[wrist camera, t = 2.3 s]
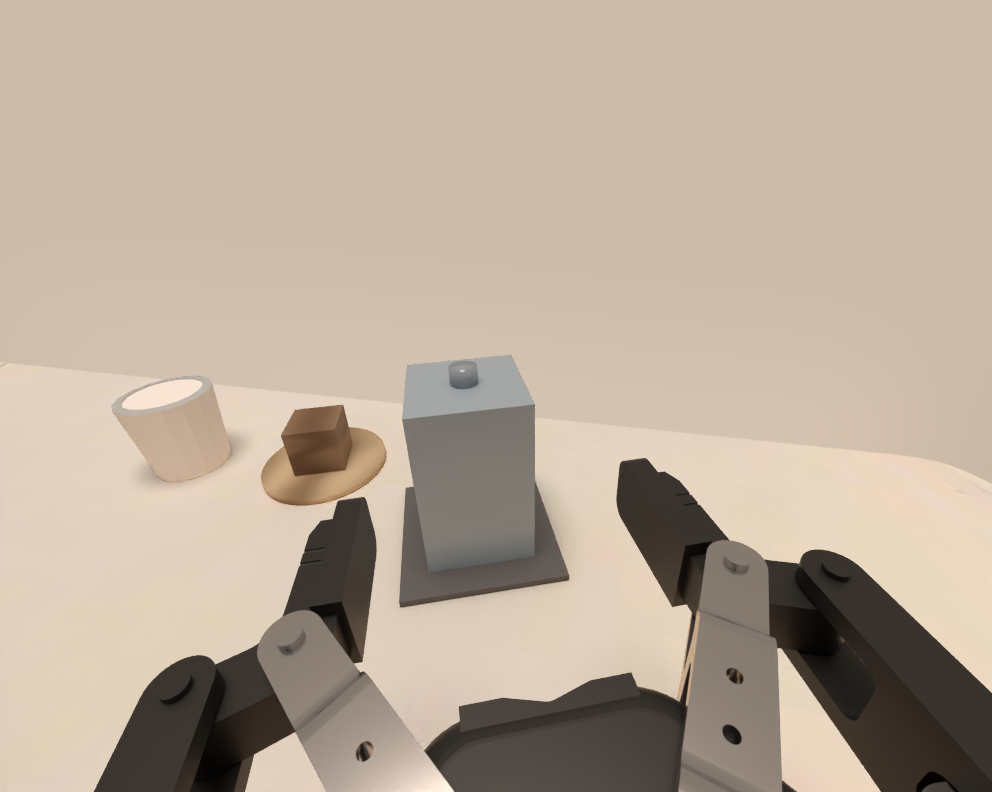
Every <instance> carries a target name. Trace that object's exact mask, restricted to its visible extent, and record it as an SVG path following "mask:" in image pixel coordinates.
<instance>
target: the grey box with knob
mask: <svg viewBox="0 0 992 792" xmlns="http://www.w3.org/2000/svg"><path fill="white" fill-rule="evenodd" d="M402 421H403V426H404V432H405V438H406V444H407V449H408V455H409V461H410V467H411V473H412V478H413V484H414V490H415V496H416V501H417V507H418V513H419V519H420V524H421V530H422V536H423V542H424V548H425V553H426V559H427V565H428V571H429V573H433V572H439V571H446V570H452V569H459V568H465V567H472V566H478V565H485V564H491V563H497V562H504V561H510V560H517V559H523V558H530V557H535V404H534V402H533V400H532V397H531V396H530V394H529V391H528V389H527V387H526V385H525V383H524V381H523V379H522V377H521V375H520V372H519V371H518V368H517V366H516V364H515V362H514V360H513V358H512V356H511V355H505V356H495V357H485V358H474V359H464V360H454V361H444V362H435V363H424V364H414V365H407V371H406V382H405V394H404V405H403V417H402Z"/></svg>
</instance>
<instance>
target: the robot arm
mask: <svg viewBox="0 0 992 792" xmlns="http://www.w3.org/2000/svg"><path fill="white" fill-rule="evenodd" d="M617 508H618V512H619V515H620V517H621V519H622V521H623V522H624V524H625V526H626V527H627V529H628V531H629V533H630V534H631V536H632V538H633V540H634V541H635V543H636V545H637V546H638V548H639V550H640V552H641V553H642V555H643V557H644V559H645V560H646V562H647V564H648V565H649V567H650V569H651V571H652V572H653V574H654V576H655V578H656V579H657V581H658V583H659V584H660V586H661V588H662V590H663V591H664V593H665V595H666V597H667V598H668V600H669V602H670V603H671V605H672V607H674V606H680V605H685V604H687V605H688V607H689V609H690V610H691V612H692V613H691V618H690V623H689V630H688V636H687V643H686V649H685V656H684V662H683V669H682V675H681V681H680V687H679V692H678V696H677V700H676V699H674V698H672V697H669V696H667V695H665V694H663V693H660V692H657V691H654V690H651V689H647V688H642V687H637V685H636V683H635V680H634V678H633V675H632V673H626V674H621V675H616V676H611V677H606V678H601V679H596V680H591V681H589V682H587V683H585V684H583V685H581V686H579V687H577V688H576V689H574V690H572V691H570V692H568V693H566V694H564V695H563V696H561V697H559V698H557V699H555V700H553V701H550V702H542V701H531V700H520V699H510V698H499V699H494V700H489V701H484V702H479V703H474V704H469V705H464V706H459V715H460V722H458V723H456V724H454V725H452V726H451V727H449V728H448V729H446V730H445V731H444V732H442V733H441V734H440V735H439V736H438V737H437V738H435V739H434V740H433V741H432V742H431V743H430V745H429V746H428V747H427V748H426V749H425V750H423V749H422V747H421V746H420V745H419V743H418V742H417V741H416V739H415V738H414V737H413V735H412V734H411V733H410V731H409V730H408V728H407V727H406V726H405V724H404V723H403V722H402V720H401V719H400V718H399V716H398V715H397V714H396V712H395V711H394V709H393V708H392V707H391V705H390V704H389V703H388V701H387V700H386V699H385V697H384V696H383V695H382V693H381V692H380V690H379V689H378V688H377V686H376V685H375V684H374V682H373V681H372V680H371V678H370V677H369V676H368V675H367V674H366V673H365V672H362V673H361V672H360V671H359V670H358V669H357V668H356V666H355V665H354V664H353V663H359V662H363V654H364V646H365V638H366V631H367V623H368V615H369V607H370V600H371V592H372V584H373V577H374V569H375V561H376V537H375V532H374V528H373V524H372V520H371V517H370V513H369V509H368V505H367V501H366V499H365V498H364V497H361V498H354V499H347V500H340V501H338V502H337V505H336V509H335V512H334V516H333V519H330V520H323V521H320V523H319V524H318V525H317V526H316V528H315V529H314V530H313V531H312V532H311V534H310V535H309V538H308V541H307V544H306V547H305V550H304V551H305V553H303V556H302V559H301V562H300V564H301V565H300V566H299V568H298V572H297V575H296V578H295V581H294V584H293V587H292V590H291V593H290V596H289V599H288V602H287V605H286V609H285V612H284V614H283V617H282V618H280V619H278V620H277V621H276V622H275V623H273V624H272V625H271V626H270V627H269V628H268V629H267V631H266V632H265V633H264V635H263V636H262V638H261V640H260V642H259V644H257V645H256V646H254V647H252V648H250V649H248V650H246V651H244V652H242V653H240V654H238V655H235V656H233V657H231V658H229V659H227V660H224V661H222V662H220V663H218V664H216V665H215V664H214V662H213V661H212V660H211V659H210V658H208V657H206V656H201V655H197V656H191V657H187V658H184V659H182V660H180V661H178V662H176V663H174V664H172V665H171V666H169V667H168V668H166V669H165V670H164V671H162V672H161V673H160V674H159V675H158V676H157V677H156V678H154V679H153V681H152V682H151V683H150V684H149V685H148V686H147V688H146V689H145V691H144V692H143V694H142V696H141V697H140V699H139V701H138V703H137V705H136V707H135V709H134V711H133V713H132V715H131V718H130V720H129V722H128V724H127V726H126V728H125V730H124V732H123V734H122V736H121V738H120V740H119V742H118V744H117V746H116V748H115V750H114V752H113V754H112V756H111V758H110V760H109V762H108V764H107V766H106V768H105V770H104V772H103V774H102V776H101V778H100V780H99V782H98V784H97V786H96V788H95V790H94V792H245V789H246V785H247V781H248V777H249V773H250V769H251V765H252V761H253V757H254V754H256V753H257V752H259V751H261V750H263V749H265V748H267V747H268V746H270V745H272V744H274V743H276V742H278V741H279V740H281V739H283V738H285V737H287V736H289V735H290V734H292V733H294V732H296V734H297V736H298V738H299V740H300V742H301V744H302V746H303V747H304V749H305V751H306V753H307V755H308V757H309V759H310V761H311V763H312V765H313V767H314V769H315V771H316V772H317V774H318V776H319V778H320V780H321V782H322V784H323V786H324V788H325V790H326V792H796V791H795V790H794V789H793V788H791V787H790V786H789V785H787V784H786V783H785V782H784V781H782V770H781V741H780V712H779V682H778V653H777V648H782V650H783V651H784V653H785V654H786V656H787V657H788V658H789V660H790V661H791V663H792V664H793V666H794V667H795V668H796V670H797V671H798V673H799V674H800V676H801V677H802V679H803V680H804V681H805V683H806V684H807V686H808V687H809V689H810V690H811V691H812V693H813V694H814V696H815V697H816V699H817V700H818V702H819V703H820V704H821V706H822V707H823V709H824V710H825V712H826V713H827V715H828V716H829V717H830V719H831V720H832V722H833V723H834V725H835V726H836V727H837V729H838V730H839V732H840V733H841V735H842V736H843V738H844V739H845V740H846V742H847V743H848V745H849V746H850V748H851V749H852V750H853V752H854V753H855V755H856V756H857V758H858V759H859V761H860V762H861V763H862V765H863V766H864V768H865V769H866V771H867V772H868V773H869V775H870V776H871V778H872V779H873V781H874V782H875V784H876V785H877V786H878V788H879V789H880V791H881V792H992V693H991V692H990V691H989V690H988V689H987V688H986V687H985V686H984V685H983V684H982V683H981V682H980V681H979V680H978V679H977V678H975V677H974V676H973V675H972V674H971V673H970V672H969V671H968V670H967V669H966V668H965V667H964V666H963V665H962V664H961V663H960V662H959V661H958V660H957V659H956V658H955V657H954V656H953V655H952V654H950V653H949V652H948V651H947V650H946V649H945V648H944V647H943V646H942V645H941V644H940V643H939V642H938V641H937V640H936V639H935V638H934V637H933V636H932V635H931V634H930V633H929V632H928V631H926V630H925V629H924V628H923V627H922V626H921V625H920V624H919V623H918V622H917V621H916V620H915V619H914V618H913V617H912V616H911V615H910V614H909V613H908V612H907V611H906V610H905V609H904V608H903V607H901V606H900V605H899V604H898V603H897V602H896V601H895V600H894V599H893V598H892V597H891V596H890V595H889V594H888V593H887V592H886V591H885V590H884V589H883V588H882V587H881V586H880V585H879V584H877V583H876V582H875V581H874V580H873V579H872V578H871V577H870V576H869V575H868V574H867V573H866V572H865V571H864V570H863V569H862V568H861V567H860V566H858V565H857V564H856V563H854V562H853V561H851V560H850V559H848V558H846V557H844V556H842V555H839V554H837V553H834V552H831V551H826V550H810V551H808V552H806V553H804V554H803V556H802V558H801V560H800V563H799V564H797V563H788V562H779V561H770V560H764V559H763V558H762V557H761V555H759V554H758V553H757V552H756V551H755V550H753V549H752V548H750V547H748V546H746V545H744V544H742V543H739V542H735V541H730V540H729V539H728V538H727V537H726V536H725V534H724V533H723V532H722V531H721V530H720V528H719V527H718V526H717V525H716V524H715V523H714V521H713V520H712V519H711V518H710V517H709V515H708V514H707V513H706V512H705V511H704V509H703V508H702V507H701V506H700V505H698V504H697V501H696V500H695V499H694V498H693V496H692V495H690V494H689V492H688V491H687V489H686V488H685V487H684V486H683V485H682V483H681V482H680V481H679V480H677V479H676V478H674V477H672V476H671V475H669V474H668V473H666V472H657V471H656V469H655V468H654V467H653V466H652V464H651V463H650V462H649V461H648V460H647V459H646V458H642V459H635V460H628V461H622V462H621V463H620V468H619V478H618V488H617ZM847 643H848V644H847ZM852 649H853V650H852ZM858 656H859V657H858ZM863 662H864V663H863Z"/></svg>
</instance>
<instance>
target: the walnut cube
mask: <svg viewBox="0 0 992 792" xmlns="http://www.w3.org/2000/svg"><path fill="white" fill-rule="evenodd" d="M281 437H282V440H283V443H284V446H285V449H286V452H287V455H288V458H289V461H290V464H291V467H292V470H293V473H294V475H295V476H303V475H311V474H319V473H327V472H335V471H343V470H346V466H347V462H348V458H349V455H350V451H351V447H352V439H351V435H350V431H349V427H348V423H347V419H346V414H345V410H344V406H343V405H336V406H327V407H318V408H308V409H299V410H295V411H294V412H293V414H292V416H291V418H290V420H289V422H288V423H287V425H286V427H285V429H284V431H283V433H282V435H281Z"/></svg>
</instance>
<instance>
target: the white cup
mask: <svg viewBox="0 0 992 792" xmlns="http://www.w3.org/2000/svg"><path fill="white" fill-rule="evenodd" d="M112 412H113V413H114V415H115V416H116V418H117V419H118V420H119V422H120V423H121V425H122V426H123V428H124V429H125V430H126V432H127V433H128V435H129V436H130V437H131V439H132V440H133V442H134V443H135V444H136V446H137V447H138V449H139V450H140V451H141V453H142V454H143V456H144V457H145V459H146V460H147V461H148V463H149V464H150V466H151V467H152V468H153V470H154V471H155V473H156V474H157V475H158V477H159V478H160V479H162V480H165V481H167V482H180V481H185V480H189V479H194V478H197V477H199V476H202V475H204V474H207V473H209V472H211V471H213V470H214V469H216V468H217V467H219V466H221V465H222V464H223V463H224V462H225V461H226V460H227V459H228V458H229V456H230V453H231V449H230V445H229V442H228V438H227V435H226V431H225V428H224V424H223V420H222V417H221V413H220V410H219V406H218V403H217V399H216V395H215V392H214V388H213V385H212V383H211V381H210V380H209V378H205V377H201V376H184V377H177V378H171V379H166V380H162V381H158V382H155V383H151V384H148V385H145V386H143V387H140V388H138V389H135V390H133V391H131V392H129V393H127V394H125V395H124V396H122V397H120V398H118V400H117V401H116V402H115V403H114V404H113V405H112Z"/></svg>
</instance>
